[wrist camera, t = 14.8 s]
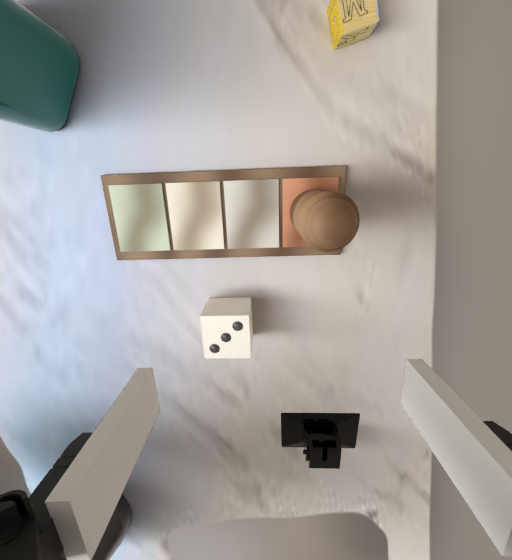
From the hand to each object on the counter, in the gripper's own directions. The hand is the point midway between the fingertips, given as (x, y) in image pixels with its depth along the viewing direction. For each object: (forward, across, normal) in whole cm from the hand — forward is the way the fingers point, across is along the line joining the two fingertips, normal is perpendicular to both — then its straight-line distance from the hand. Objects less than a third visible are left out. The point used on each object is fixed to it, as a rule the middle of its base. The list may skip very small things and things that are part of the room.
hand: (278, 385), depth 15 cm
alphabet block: (+18, +8, +23) cm, 31 cm away
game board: (+18, -4, +8) cm, 20 cm away
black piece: (+19, +6, -22) cm, 30 cm away
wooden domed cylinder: (+18, +5, +7) cm, 20 cm away
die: (+19, -5, -4) cm, 20 cm away
